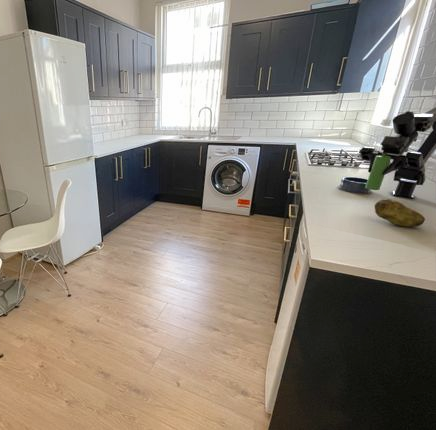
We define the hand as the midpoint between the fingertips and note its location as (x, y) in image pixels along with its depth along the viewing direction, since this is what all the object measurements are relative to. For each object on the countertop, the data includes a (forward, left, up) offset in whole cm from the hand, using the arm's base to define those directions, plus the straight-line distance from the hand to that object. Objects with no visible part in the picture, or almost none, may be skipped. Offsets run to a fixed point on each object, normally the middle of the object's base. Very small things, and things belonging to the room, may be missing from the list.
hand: (375, 173), depth 110 cm
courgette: (-1, +1, -7) cm, 7 cm away
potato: (+18, +8, -13) cm, 24 cm away
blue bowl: (-24, -5, -13) cm, 28 cm away
